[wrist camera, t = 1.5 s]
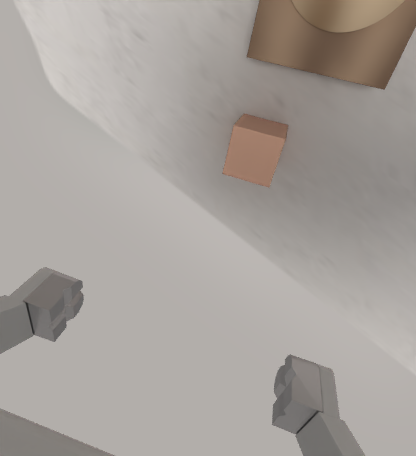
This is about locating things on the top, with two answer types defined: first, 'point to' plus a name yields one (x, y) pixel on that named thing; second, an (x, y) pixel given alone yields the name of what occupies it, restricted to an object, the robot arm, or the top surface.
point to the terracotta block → (255, 149)
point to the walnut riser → (334, 36)
